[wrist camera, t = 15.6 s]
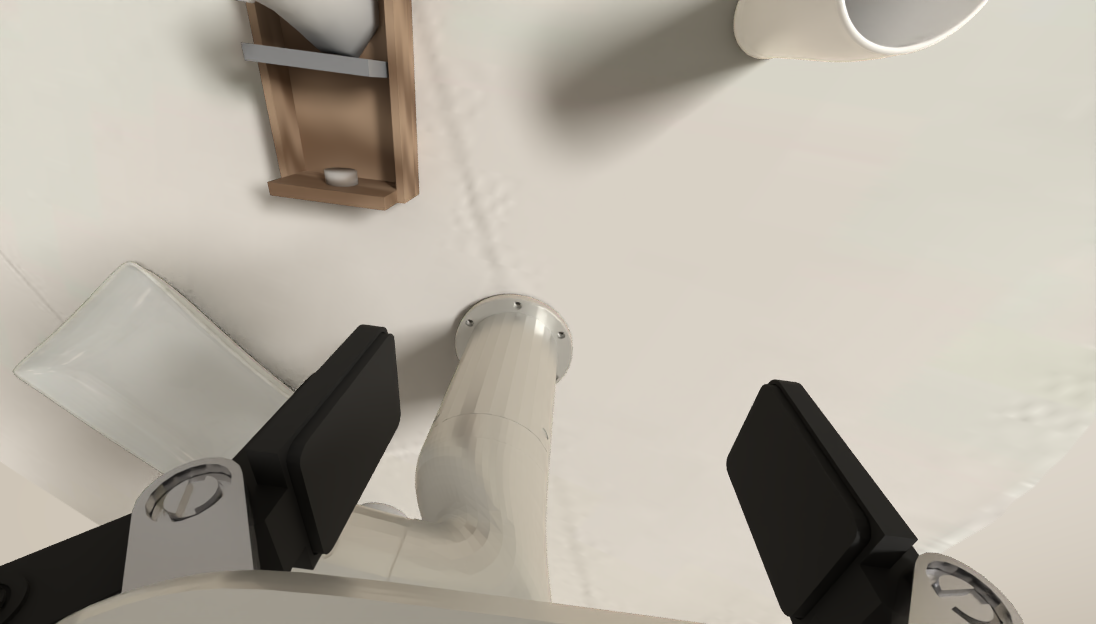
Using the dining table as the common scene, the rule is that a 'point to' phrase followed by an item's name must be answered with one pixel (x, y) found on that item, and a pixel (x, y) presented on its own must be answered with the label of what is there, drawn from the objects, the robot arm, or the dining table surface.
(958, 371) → the dining table surface
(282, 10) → the flask
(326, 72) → the wooden tray
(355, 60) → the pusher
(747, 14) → the drinking glass
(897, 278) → the dining table surface
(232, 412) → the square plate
